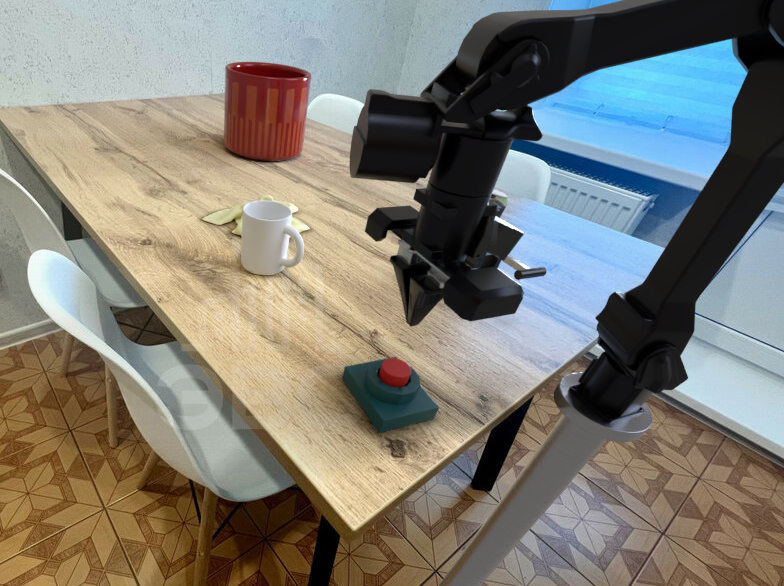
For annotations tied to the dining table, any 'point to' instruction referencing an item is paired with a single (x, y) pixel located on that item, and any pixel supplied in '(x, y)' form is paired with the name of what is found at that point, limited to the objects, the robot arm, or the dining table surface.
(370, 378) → the button block
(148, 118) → the dining table surface
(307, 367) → the dining table surface
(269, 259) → the mug
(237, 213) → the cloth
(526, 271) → the lever
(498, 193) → the beverage can
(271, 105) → the planter
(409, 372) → the button
